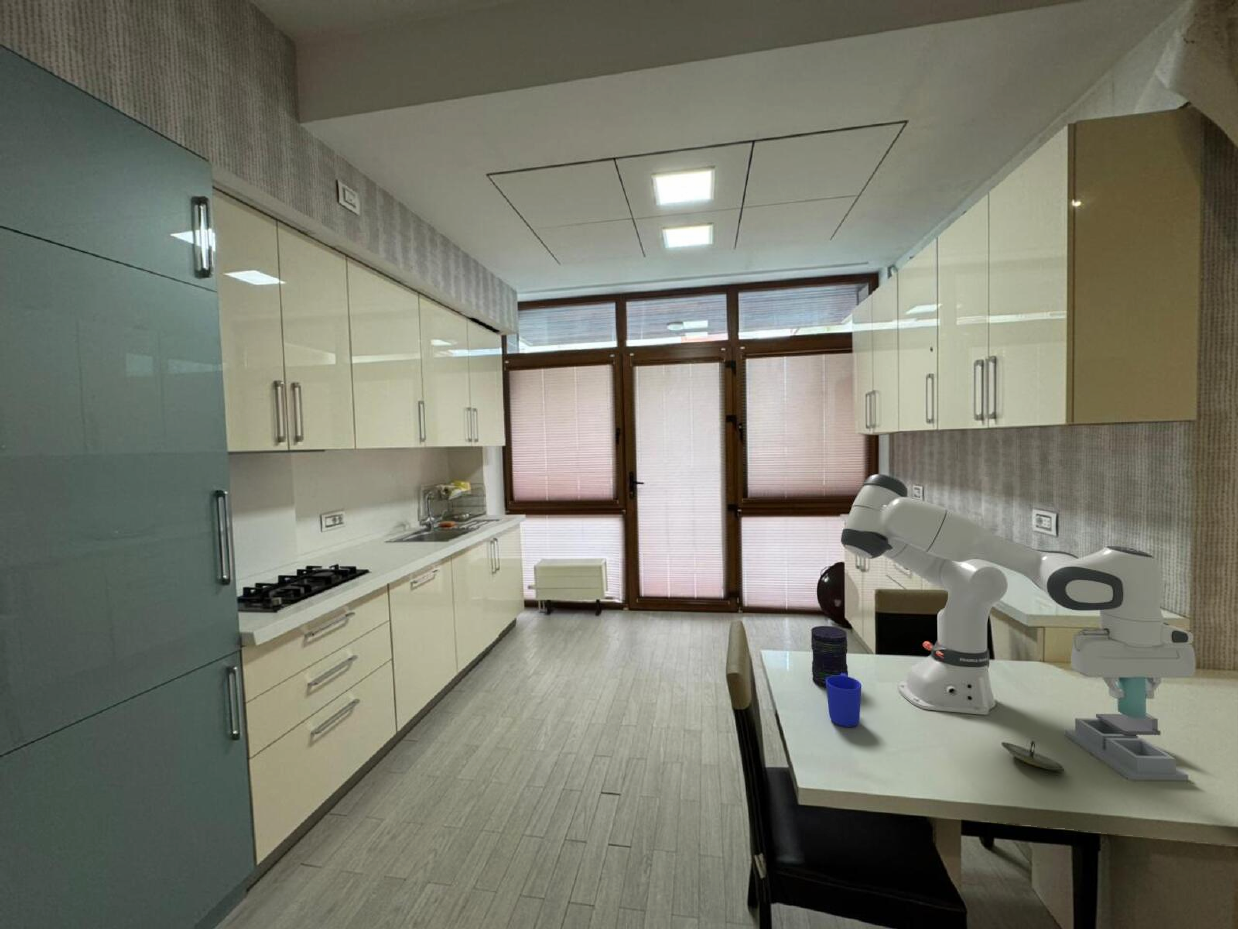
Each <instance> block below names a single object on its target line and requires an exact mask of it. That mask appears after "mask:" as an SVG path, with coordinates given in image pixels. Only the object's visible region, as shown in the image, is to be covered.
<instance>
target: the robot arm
mask: <svg viewBox="0 0 1238 929" xmlns="http://www.w3.org/2000/svg"><path fill="white" fill-rule="evenodd" d="M840 542H841V544H842V546H843V547H844V548H845V549H846V550H847V551H849V552H850V553H851V554H853V555H854V556H857V557H858V558H861V559H862V558H863V559H870V560H874V559H877V558H879V557H881V556H883V557H885V558H888V559H889V560H891V561H892V562H894V563H896V564H898V565H900V566H901V567H904V568H905V569H907V570H909V571H910V572H913V574H915V575H917V576H919V577H920V578H922V579H924V580H926V581H927V582H928V583H931V584H932V585H934V586H935V587H937V588H940V589H942V590H944V591H946V592H947V595H948V596H947V601H946V604H945V606H944V608H942V609H940V610H939V612H938V613H937V616H936V617H937V618H936V620H937V623H936V624H937V640H936V641H935V644H934V645H933V643H931V642H930V641H928V640H927V641H924V642H922V646H923V647H924V649H926V650H927V651H931V653H930V655H928V656H927V657H925V658H924V659H922V660H920V661H919V662H917V663H916V664H914V665H911V666H910V668H909V669H908V672H907V673H908V674H907V677H906V681H900V682H898V685H897V689H898V691H899V693H900V694H901V695H902V696H903V697H904V698H905V699H906V700H907V701H908V702H910V703H911V704H913V705H914V706H915V707H918V708H920V709H922V710H928V711H929V710H931V711H940V712H951V713H952V712H953V713H961V714H972V715H985V716H987V715H989V713H990V710H991V709H994V707H995V706H996V705H997V702H996V700H995V697H994V693H993V691H992V690H993V689H992V686H991V681H990V675H989V674H990V672H989V667H990V649H989V648H988V619H989V616H990V613H991V609H992V608H993V606H994V604H995V603H997V602H999V601H1000V600H1002V599H1003V598H1004V597H1005V595H1006V593H1007V590H1008V579H1007V576H1006V575H1005V572H1003V571H1002V570H1000V569H999V568H997V567H996V566H1000V567H1002V568H1005V569H1008V570H1010V571H1012V572H1015V573H1018V574H1020V575H1022V576H1025V577H1026V578H1027V579H1029V580H1030V581H1031V582H1032V583H1033V584H1034V585H1035V586H1037V587H1038V588H1039V589H1040V590H1042V591H1043V592H1044V593H1045V594H1046V595H1048V597H1049V598H1050V599H1051V600H1052V601H1054V602H1055V603H1056V604H1058V605H1059V606H1061V607H1063V608H1065V609H1068V610H1071V611H1072V610H1073V611H1084V612H1085V611H1099V628H1091V629H1090V628H1081V630H1080V631H1078V632H1076V633H1075V634H1074V635H1073V644H1072V649H1071V656H1070V666H1071V668H1072V669H1073V671H1075V672H1076V673H1079V675H1082V676H1084V677H1086V678H1101V679H1102V680H1103V681H1104V683H1105V684H1106V685H1107V687H1108V694H1109V696H1110V697H1111V698H1113V699H1117V700H1118V699H1121V698H1124V690H1122V689H1120V688H1118V686H1117V682H1119V678H1131V677H1146V700H1153V699H1155V692H1156V690H1157V689H1158V687H1159V686H1160V685H1161V683H1162V679H1191V677H1193V675H1194V674H1196V656H1195V655H1196V654H1195V649H1194V647H1193V646H1192V645H1191V643H1193V642H1194V634H1193V633H1192V632H1190V631H1188V630H1185V629H1182V628H1180V627H1177V626H1174V625H1172V624H1168V623H1166V622H1164V616H1163V614H1162V611H1161V602H1162V600H1163V598H1164V597H1163V596H1164V593H1163V592H1164V589H1163V577H1162V571H1161V566H1160V563H1159V561H1158V560H1157V558H1155V557H1154V556H1153V555H1151V554H1150V553H1147V552H1145V551H1142V550H1138V549H1134V548H1130V547H1125V546H1119V545H1118V546H1117V545H1108V546H1104V548H1102V549H1101V550H1099V551H1095V552H1094V553H1092V554H1089V555H1085V556H1083V557H1078V556H1077V555H1075V554H1073V553H1071V552H1070V553H1069V552H1066V551H1062V550H1061V551H1060V550H1045V549H1043V550H1041V549H1034V548H1032V547H1029V546H1026V545H1023V544H1021V543H1017V542H1015V541H1012V540H1011V539H1010V540H1009V539H1007V538H1004V537H1001V536H999V535H997V534H994V533H993V532H991V531H989V530H987V529H986V528H985V527H983V526H982V525H980V524H979V523H978V522H976V521H974V520H973V519H971V518H969V517H967V516H965V515H963V514H961V513H959V512H958V511H955V510H952V509H949V508H946V507H943V506H941V505H938V504H935V503H931V502H928V501H925V500H920V499H917V498H912V497H908V488H907V486H906V485H905V484H904V482H902V481H901V480H900V479H898V478H896V477H893V476H890V475H887V474H883V473H876V474H872V475H869V477H867V478H866V480H865V481H864V483H863V484H862V486H861V490H860V491H859V492H858V494H857V495H856V497H855V499H854V501H853V503H852V505H851V509H850V511H849V514H848V517H847V519H846V523H845V527H844V528H843V529H842V531H841V536H840ZM994 565H996V566H994Z"/></svg>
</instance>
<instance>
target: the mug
mask: <svg viewBox="0 0 1238 929" xmlns="http://www.w3.org/2000/svg"><path fill="white" fill-rule="evenodd" d="M825 689H826V697H827V699H826V700H827V707H828V714H829V715H828V716H829V718H830V720H831V721H832V722H833V723H834V724H836V725H838V726H840V727H846V728H852V727H856V726H857V725H858V724H859V723H860V722H859V721H860V717H861V716H860V715H861V714H860V713H861V699H862V684H861V682H860V681H859V680H858V679H856V678H854V677H851V676H849V675H848V676H847V674H845V673H841V675H834V676H830V677H828V678H827V679H826V688H825Z"/></svg>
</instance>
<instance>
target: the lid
mask: <svg viewBox="0 0 1238 929" xmlns="http://www.w3.org/2000/svg"><path fill="white" fill-rule="evenodd" d="M1001 746H1002V747H1003V748H1004V749H1005V750H1007V751H1008V752H1009V753H1010V754H1011V755H1012V756H1013V757H1014V758H1016V759H1018V760H1021V761H1023V762H1025V763H1026V764H1029V765H1032V766H1036V767H1039V768H1042V769H1046V770H1050V771H1051V770H1053V771H1059V772H1064V771H1065V768H1064V766H1063V765H1062V764H1060V763H1058V762H1056V761H1055V760H1052V759H1050V758H1049V757H1047V756H1044V755H1042V754H1039V753H1036V752H1035V751H1036V750H1035V749H1036V741H1033V740H1031V742H1030V748H1029V749H1027V748H1024V747H1021V746H1019V745H1015V744H1013V743H1010V742H1005V741H1002V742H1001ZM1033 747H1034V749H1032V748H1033Z"/></svg>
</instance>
